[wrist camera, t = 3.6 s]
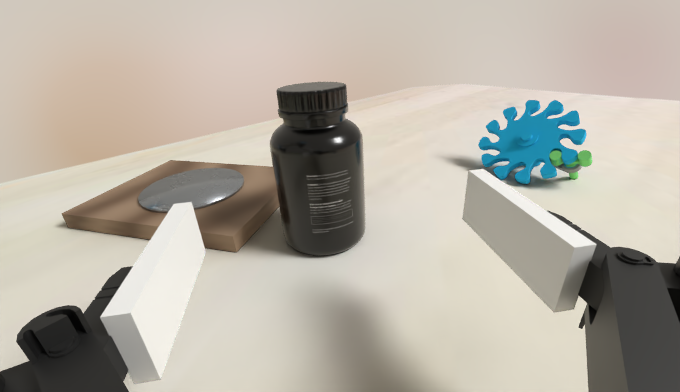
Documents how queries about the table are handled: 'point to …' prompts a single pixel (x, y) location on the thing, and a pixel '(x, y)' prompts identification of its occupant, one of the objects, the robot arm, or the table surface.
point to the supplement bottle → (318, 169)
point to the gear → (536, 143)
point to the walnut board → (180, 187)
